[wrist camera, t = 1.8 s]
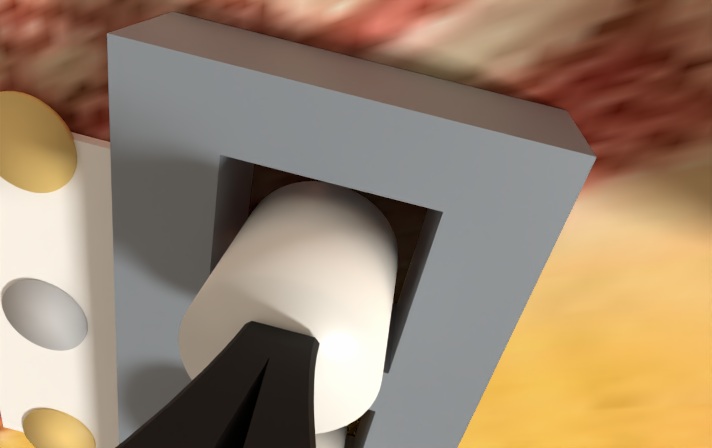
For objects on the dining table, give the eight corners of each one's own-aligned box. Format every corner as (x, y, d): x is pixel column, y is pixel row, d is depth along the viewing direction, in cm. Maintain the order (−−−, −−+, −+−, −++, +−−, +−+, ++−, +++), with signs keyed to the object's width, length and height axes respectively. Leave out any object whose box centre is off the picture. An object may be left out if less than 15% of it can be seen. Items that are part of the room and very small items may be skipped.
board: (566, 110, 13) (596, 157, 10) (369, 570, 24) (360, 648, 22) (172, 11, 13) (106, 32, 11) (157, 512, 24) (123, 583, 22)
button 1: (378, 329, 15) (357, 454, 11) (237, 292, 15) (174, 405, 11) (416, 205, 13) (405, 310, 9) (253, 163, 13) (182, 252, 9)
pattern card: (124, 464, 23) (117, 475, 22) (13, 434, 23) (4, 445, 23) (117, 110, 15) (106, 117, 14) (-55, 67, 15) (-72, 72, 14)
